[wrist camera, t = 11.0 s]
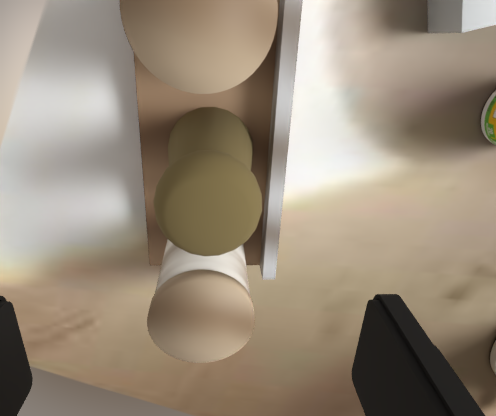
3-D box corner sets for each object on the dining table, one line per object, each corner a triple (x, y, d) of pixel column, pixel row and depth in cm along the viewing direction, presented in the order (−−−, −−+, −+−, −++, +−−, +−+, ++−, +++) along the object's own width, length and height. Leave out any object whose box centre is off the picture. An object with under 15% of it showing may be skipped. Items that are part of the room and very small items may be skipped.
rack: (268, 265, 33) (289, 360, 23) (153, 266, 32) (127, 364, 22) (294, -29, 23) (347, -72, 14) (131, -41, 22) (69, -96, 13)
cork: (270, 146, 26) (303, 213, 17) (215, 204, 28) (215, 297, 18) (205, 87, 24) (199, 123, 14) (150, 153, 26) (109, 227, 16)
